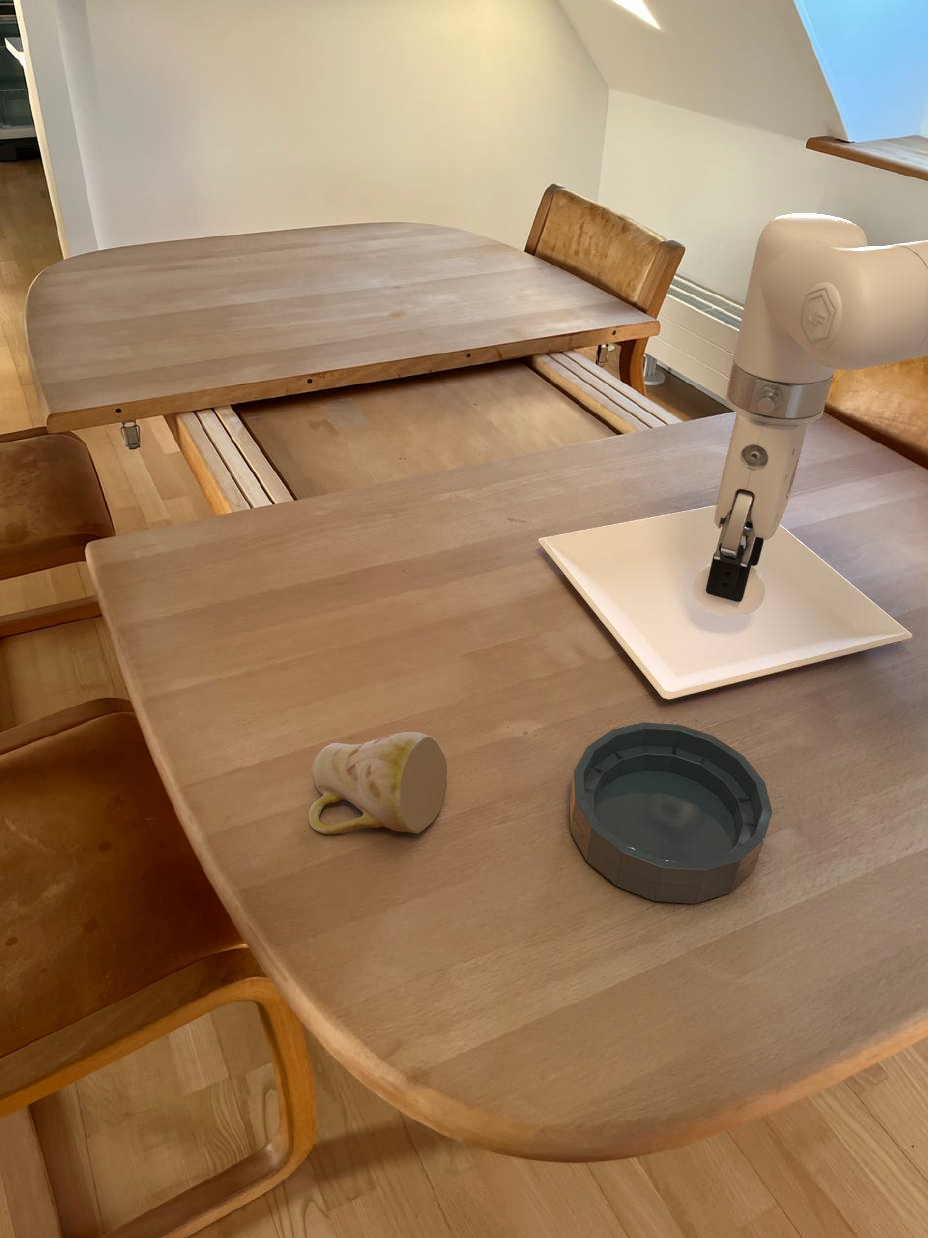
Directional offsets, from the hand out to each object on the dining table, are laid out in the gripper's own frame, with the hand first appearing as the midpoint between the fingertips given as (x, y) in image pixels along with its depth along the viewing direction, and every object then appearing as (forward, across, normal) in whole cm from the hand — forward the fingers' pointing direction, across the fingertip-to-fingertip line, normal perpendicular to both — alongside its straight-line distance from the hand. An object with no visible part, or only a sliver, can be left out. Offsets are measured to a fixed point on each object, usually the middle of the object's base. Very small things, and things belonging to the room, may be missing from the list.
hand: (732, 576), depth 84 cm
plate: (+7, +5, +2) cm, 9 cm away
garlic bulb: (+3, 0, 0) cm, 3 cm away
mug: (+7, -33, +18) cm, 38 cm away
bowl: (+7, -25, -2) cm, 26 cm away
